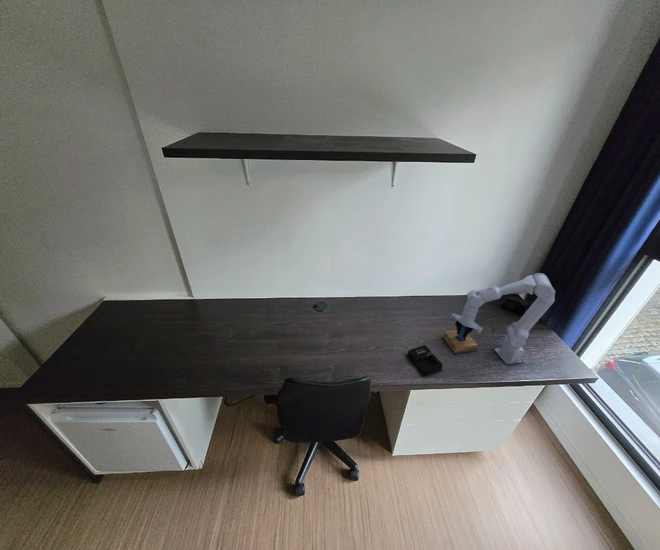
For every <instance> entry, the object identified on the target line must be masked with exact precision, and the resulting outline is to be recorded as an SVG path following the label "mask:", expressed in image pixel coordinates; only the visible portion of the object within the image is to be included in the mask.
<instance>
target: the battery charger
mask: <svg viewBox="0 0 660 550" xmlns="http://www.w3.org/2000/svg"><path fill="white" fill-rule="evenodd" d="M407 357H408V359H409V360H410V361H411V362H412V364H413V365H415V367H416V368H417V370H418V372H419V373H420V374H421V375H422V376H423V377H426V376H429V375H432V374H434V373H438V372H439V371H442V369H443V363H442V362H441V361H440V359H439V358H438V357H437V356H436V355H435V354H434V353H433V352H432V350H430V348H429V347H428V346H427V345H426V344H424V345H420V346H417V347H414V348H412V349H408V351H407Z"/></svg>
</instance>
